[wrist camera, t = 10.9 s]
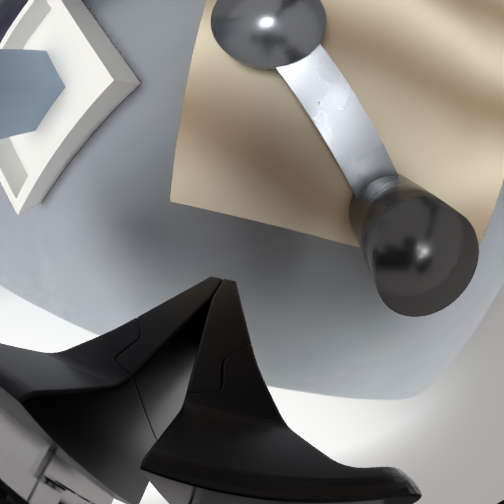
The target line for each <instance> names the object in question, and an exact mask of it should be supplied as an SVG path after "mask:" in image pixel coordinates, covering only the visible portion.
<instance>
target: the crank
mask: <svg viewBox="0 0 504 504" xmlns="http://www.w3.org/2000/svg"><path fill="white" fill-rule="evenodd" d="M326 23H327V20H326V12H325V9H324V6H323V4H322V2H321V1H320V0H217V1H216V3H215V5H214V7H213V10H212V14H211V30H212V33H213V36H214V38H215V40H216V42H217V43H218V45H219V46H220V47H221V48H222V49H223V50H224V51H225V52H226V53H227V54H228V55H230V56H231V57H232V58H233V59H234V60H236V61H237V62H239V63H241V64H243V65H245V66H248V67H251V68H254V69H258V70H266V71H275V70H277V71H278V73H279V74H280V75H281V77H282V78H283V80H284V81H285V82H286V84H287V85H288V87H289V88H290V89H291V91H292V92H293V94H294V95H295V97H296V98H297V99H298V101H299V102H300V104H301V105H302V107H303V108H304V110H305V111H306V113H307V114H308V116H309V117H310V119H311V121H312V122H313V124H314V125H315V127H316V128H317V130H318V132H319V133H320V135H321V136H322V138H323V140H324V141H325V143H326V145H327V146H328V148H329V150H330V151H331V153H332V155H333V157H334V158H335V160H336V162H337V164H338V165H339V167H340V169H341V171H342V172H343V174H344V176H345V178H346V180H347V182H348V183H349V185H350V187H351V189H352V191H353V193H354V194H353V196H352V198H351V201H350V205H349V221H350V225H351V227H352V230H353V232H354V234H355V236H356V239H357V241H358V243H359V246H360V248H361V250H362V253H363V255H364V257H365V260H366V262H367V264H368V267H369V269H370V272H371V274H372V277H373V279H374V282H375V285H376V287H377V290H378V292H379V295H380V297H381V299H382V300H383V302H384V303H385V304H386V305H387V306H388V307H389V308H390V309H392V310H393V311H395V312H397V313H399V314H402V315H405V316H412V317H419V316H426V315H430V314H433V313H435V312H438V311H440V310H442V309H444V308H445V307H447V306H448V305H450V304H451V303H452V302H454V301H455V300H456V299H457V298H458V297H459V296H460V295H461V294H462V293H463V291H464V290H465V289H466V287H467V286H468V284H469V283H470V281H471V279H472V277H473V275H474V272H475V269H476V266H477V262H478V255H479V245H478V239H477V235H476V232H475V230H474V228H473V226H472V225H471V223H470V222H469V221H468V219H467V218H466V217H464V216H463V215H462V214H461V213H459V212H458V211H456V210H455V209H454V208H452V207H451V206H449V205H448V204H447V203H445V202H444V201H442V200H441V199H439V198H438V197H436V196H435V195H433V194H432V193H430V192H429V191H427V190H426V189H424V188H422V187H421V186H419V185H418V184H416V183H415V182H413V181H411V180H410V179H408V178H406V177H405V176H403V175H400V174H398V173H397V171H396V169H395V167H394V165H393V163H392V161H391V159H390V156H389V154H388V152H387V150H386V148H385V146H384V145H383V143H382V141H381V139H380V137H379V135H378V133H377V131H376V129H375V128H374V126H373V124H372V122H371V120H370V119H369V117H368V115H367V113H366V112H365V110H364V108H363V107H362V105H361V103H360V102H359V100H358V98H357V97H356V95H355V93H354V92H353V90H352V89H351V87H350V86H349V84H348V82H347V81H346V79H345V78H344V76H343V75H342V73H341V72H340V71H339V69H338V68H337V66H336V65H335V63H334V62H333V61H332V59H331V58H330V56H329V55H328V54H327V52H326V51H325V50H324V48H323V47H322V46H321V42H322V39H323V36H324V33H325V29H326Z"/></svg>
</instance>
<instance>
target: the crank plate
mask: <svg viewBox="0 0 504 504" xmlns="http://www.w3.org/2000/svg"><path fill="white" fill-rule="evenodd" d="M216 1H217V0H207V1H206V4H205V8H204V11H203V15H202V19H201V23H200V26H199V30H198V34H197V38H196V42H195V47H194V51H193V55H192V60H191V64H190V69H189V74H188V79H187V84H186V89H185V94H184V100H183V106H182V111H181V117H180V124H179V130H178V137H177V144H176V151H175V159H174V167H173V175H172V184H171V194H170V202H175V203H180V204H184V205H189V206H193V207H198V208H202V209H207V210H211V211H215V212H220V213H224V214H228V215H233V216H237V217H241V218H245V219H249V220H253V221H258V222H262V223H266V224H270V225H274V226H278V227H282V228H286V229H290V230H294V231H298V232H302V233H305V234H309V235H313V236H317V237H321V238H325V239H328V240H332V241H336V242H340V243H343V244H347V245H351V246H354V247H358V248H360V246H359V243H358V241H357V239H356V236H355V234H354V232H353V230H352V227H351V225H350V221H349V205H350V201H351V198H352V196H353V194H354V193H353V191H352V189H351V187H350V185H349V183H348V182H347V180H346V178H345V176H344V174H343V172H342V171H341V169H340V167H339V165H338V164H337V162H336V160H335V158H334V157H333V155H332V153H331V151H330V150H329V148H328V146H327V145H326V143H325V141H324V140H323V138H322V136H321V135H320V133H319V132H318V130H317V128H316V127H315V125H314V124H313V122H312V121H311V119H310V117H309V116H308V114H307V113H306V111H305V110H304V108H303V107H302V105H301V104H300V102H299V101H298V99H297V98H296V97H295V95H294V94H293V92H292V91H291V89H290V88H289V87H288V85H287V84H286V82H285V81H284V80H283V78H282V77H281V75H280V74H279V73H278V71H277V70H275V71H266V70H258V69H254V68H251V67H248V66H245V65H243V64H241V63H239V62H237V61H236V60H234V59H233V58H232V57H231V56H230V55H228V54H227V53H226V52H225V51H224V50H223V49H222V48H221V47H220V46H219V45H218V43H217V42H216V40H215V38H214V36H213V33H212V30H211V14H212V10H213V7H214V5H215V3H216ZM320 1H321V2H322V4H323V6H324V9H325V12H326V20H327V23H326V29H325V33H324V36H323V39H322V42H321V46H322V47H323V48H324V50H325V51H326V52H327V54H328V55H329V56H330V58H331V59H332V61H333V62H334V63H335V65H336V66H337V68H338V69H339V71H340V72H341V73H342V75H343V76H344V78H345V79H346V81H347V82H348V84H349V86H350V87H351V89H352V90H353V92H354V93H355V95H356V97H357V98H358V100H359V102H360V103H361V105H362V107H363V108H364V110H365V112H366V113H367V115H368V117H369V119H370V120H371V122H372V124H373V126H374V128H375V129H376V131H377V133H378V135H379V137H380V139H381V141H382V143H383V145H384V146H385V148H386V150H387V152H388V154H389V156H390V159H391V161H392V163H393V165H394V167H395V169H396V171H397V173H398V174H400V175H403V176H405V177H406V178H408V179H410V180H411V181H413V182H415V183H416V184H418V185H419V186H421V187H422V188H424V189H426V190H427V191H429V192H430V193H432V194H433V195H435V196H436V197H438V198H439V199H441V200H442V201H444V202H445V203H447V204H448V205H449V206H451V207H452V208H454V209H455V210H456V211H458V212H459V213H461V214H462V215H463V216H464V217H466V218H467V219H468V221H469V222H470V223H471V225H472V226H473V228H474V230H475V232H476V235H477V239H478V245H480V243H481V241H482V238H483V236H484V234H485V231H486V229H487V226H488V224H489V221H490V219H491V216H492V213H493V210H494V208H495V205H496V202H497V199H498V196H499V193H500V190H501V187H502V183H503V180H504V0H320Z"/></svg>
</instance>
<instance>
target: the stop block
mask: <svg viewBox="0 0 504 504" xmlns="http://www.w3.org/2000/svg"><path fill="white" fill-rule="evenodd" d="M64 88H65V85H64V83H63V82H62V80H61V78H60V76H59V74H58V72H57V70H56V69H55V67H54V65H53V63H52V61H51V59H50V57H49V55H48V53H47V51H43V50H24V49H0V139H4V138H8V137H11V136H15V135H19V134H24V133H28V132H32V131H36V129H37V127H38V126H39V124H40V123H41V121H42V120H43V118H44V117H45V115H46V114H47V112H48V111H49V109H50V108H51V106H52V105H53V103H54V102H55V101H56V99H57V98H58V96H59V95H60V94H61V92H62V91H63V90H64Z"/></svg>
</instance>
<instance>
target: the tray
mask: <svg viewBox="0 0 504 504" xmlns="http://www.w3.org/2000/svg"><path fill="white" fill-rule="evenodd" d="M0 49H24V50H43V51H47V53H48V55H49V57H50V59H51V61H52V63H53V65H54V67H55V69H56V70H57V72H58V74H59V76H60V78H61V80H62V82H63V83H64V85H65V88H64V90H63V91H62V92H61V94H60V95H59V96H58V98H57V99H56V101H55V102H54V103H53V105H52V106H51V108H50V109H49V111H48V112H47V114H46V115H45V117H44V118H43V120H42V121H41V123H40V124H39V126H38V127H37V129H36V131H32V132H28V133H24V134H19V135H15V136H11V137H8V138H4V139H0V182H1V184H2V186H3V188H4V190H5V192H6V194H7V196H8V198H9V199H10V201H11V203H12V205H13V207H14V209H15V211H16V212H17V214H18V215H19V214H20V213H22V212H24V211H26V210H28V209H30V208H32V207H34V206H36V205H38V204H40V203H42V201H43V200H44V198H45V196H46V195H47V193H48V192H49V190H50V189H51V187H52V186H53V184H54V183H55V182H56V180H57V179H58V177H59V176H60V174H61V173H62V172H63V170H64V169H65V168H66V166H67V165H68V164H69V162H70V161H71V160H72V158H73V157H74V156H75V154H76V153H77V152H78V151H79V149H80V148H81V147H82V146H83V144H84V143H85V142H86V141H87V140H88V138H89V137H90V136H91V135H92V134H93V133H94V131H95V130H96V129H97V128H98V127H99V126H100V125H101V123H102V122H103V121H104V120H105V119H106V118H107V117H108V116H109V115H110V114H111V113H112V112H113V111H114V109H115V108H116V107H117V106H118V105H119V104H120V103H121V102H122V101H123V100H124V99H125V98H126V97H127V96H128V95H129V94H130V93H131V92H132V91H133V90H135V89H136V88H137V87H138V86H139V85H140V84H141V83H140V81H139V80H138V79H137V77H136V76H135V74H134V73H133V72H132V70H131V69H130V67H129V66H128V64H127V63H126V62H125V60H124V59H123V57H122V56H121V55H120V53H119V52H118V50H117V49H116V48H115V46H114V45H113V43H112V42H111V41H110V39H109V38H108V37H107V35H106V34H105V32H104V31H103V30H102V28H101V27H100V25H99V24H98V23H97V21H96V20H95V18H94V17H93V16H92V14H91V13H90V11H89V10H88V9H87V7H86V6H85V5H84V3H83V2H82V0H29V1H28V2H27V4H26V5H25V6H24V8H23V9H22V11H21V12H20V13H19V15H18V16H17V18H16V19H15V21H14V22H13V24H12V25H11V27H10V28H9V30H8V31H7V33H6V35H5V36H4V38H3V40H2V41H1V43H0Z"/></svg>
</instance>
